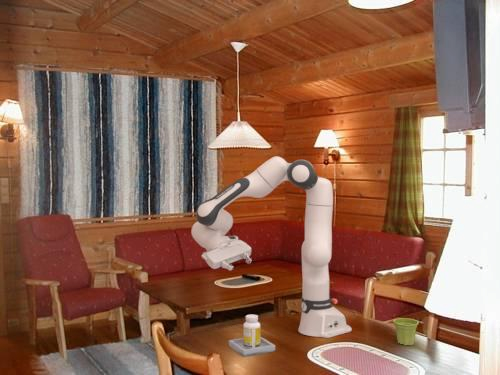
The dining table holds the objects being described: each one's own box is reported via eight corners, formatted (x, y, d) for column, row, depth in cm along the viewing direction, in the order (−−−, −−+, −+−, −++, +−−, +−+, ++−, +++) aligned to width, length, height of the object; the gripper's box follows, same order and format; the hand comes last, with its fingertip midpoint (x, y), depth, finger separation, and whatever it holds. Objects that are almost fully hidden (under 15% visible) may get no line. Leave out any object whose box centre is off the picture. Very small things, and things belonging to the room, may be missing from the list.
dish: (258, 340, 213) (258, 335, 213) (275, 351, 201) (275, 345, 201) (228, 346, 207) (228, 340, 207) (244, 357, 195) (244, 351, 195)
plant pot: (388, 343, 210) (388, 321, 210) (400, 337, 217) (400, 316, 216) (410, 349, 204) (411, 326, 203) (422, 343, 210) (422, 321, 210)
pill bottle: (261, 344, 207) (261, 314, 206) (259, 349, 200) (259, 319, 200) (244, 343, 208) (244, 313, 207) (241, 348, 201) (241, 318, 201)
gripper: (200, 248, 213) (221, 266, 205) (239, 234, 227) (261, 251, 218) (198, 261, 216) (219, 279, 208) (236, 247, 229) (258, 264, 221)
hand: (241, 265), depth 213 cm, fingers open, 8 cm apart
